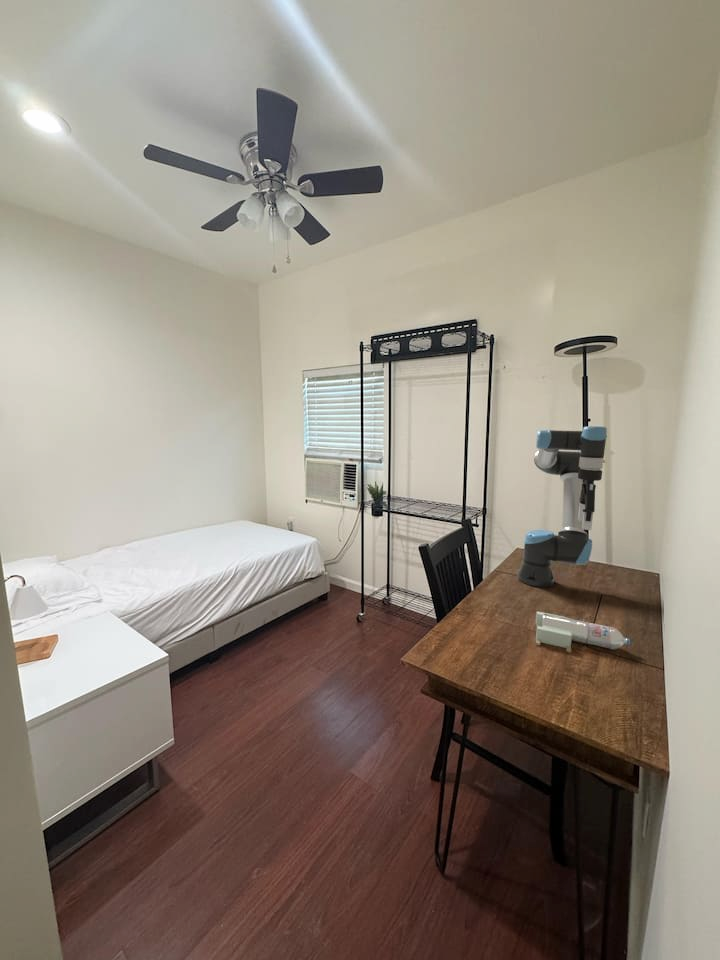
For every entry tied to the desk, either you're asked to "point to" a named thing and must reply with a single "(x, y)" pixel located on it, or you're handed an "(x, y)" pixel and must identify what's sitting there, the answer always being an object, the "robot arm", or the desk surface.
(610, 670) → the desk surface
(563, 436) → the robot arm
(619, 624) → the desk surface
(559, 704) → the desk surface
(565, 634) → the u rest
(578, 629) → the water bottle
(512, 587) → the desk surface
